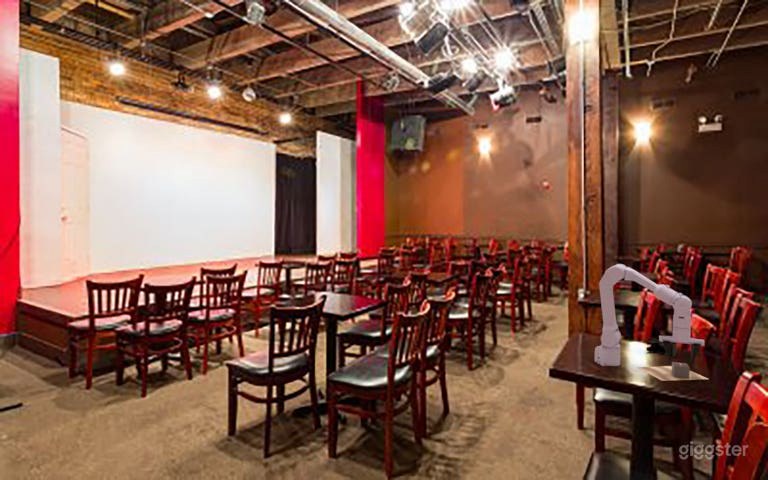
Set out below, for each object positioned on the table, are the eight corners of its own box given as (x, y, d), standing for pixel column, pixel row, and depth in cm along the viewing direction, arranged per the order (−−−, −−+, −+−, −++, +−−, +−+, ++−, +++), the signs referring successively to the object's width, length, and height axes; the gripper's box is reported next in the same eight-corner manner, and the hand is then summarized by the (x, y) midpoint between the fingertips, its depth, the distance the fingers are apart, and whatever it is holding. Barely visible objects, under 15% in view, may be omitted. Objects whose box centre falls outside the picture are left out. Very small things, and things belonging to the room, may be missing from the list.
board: (662, 384, 165) (662, 380, 165) (636, 370, 180) (636, 367, 180) (708, 382, 166) (708, 379, 166) (679, 369, 181) (679, 365, 181)
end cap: (676, 357, 197) (677, 343, 196) (666, 359, 194) (667, 345, 193) (655, 351, 206) (656, 337, 205) (645, 353, 203) (645, 339, 203)
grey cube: (689, 379, 166) (689, 367, 166) (673, 377, 169) (674, 365, 168) (686, 374, 171) (686, 363, 171) (671, 372, 173) (671, 361, 173)
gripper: (701, 326, 169) (700, 360, 170) (658, 322, 175) (657, 355, 176) (706, 331, 163) (705, 366, 164) (661, 326, 169) (660, 361, 170)
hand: (680, 361), depth 169 cm, fingers open, 7 cm apart
